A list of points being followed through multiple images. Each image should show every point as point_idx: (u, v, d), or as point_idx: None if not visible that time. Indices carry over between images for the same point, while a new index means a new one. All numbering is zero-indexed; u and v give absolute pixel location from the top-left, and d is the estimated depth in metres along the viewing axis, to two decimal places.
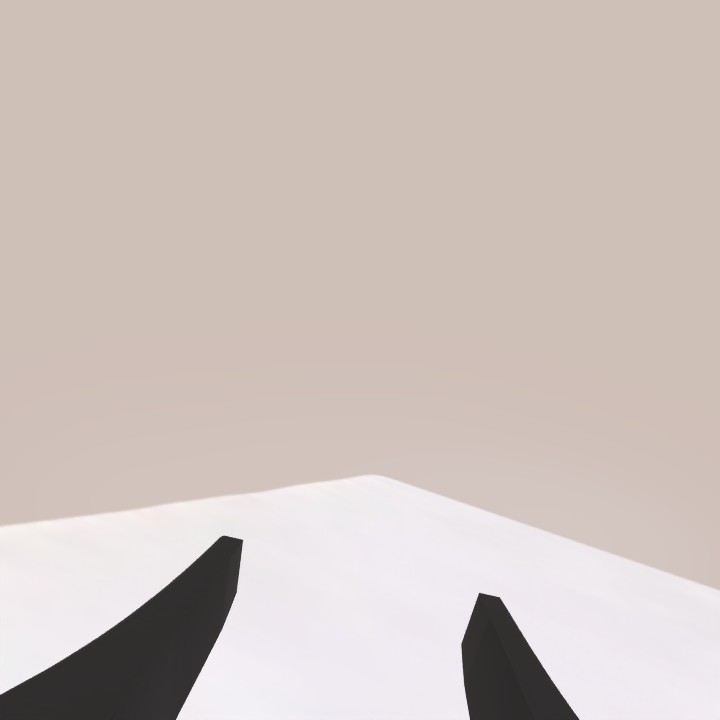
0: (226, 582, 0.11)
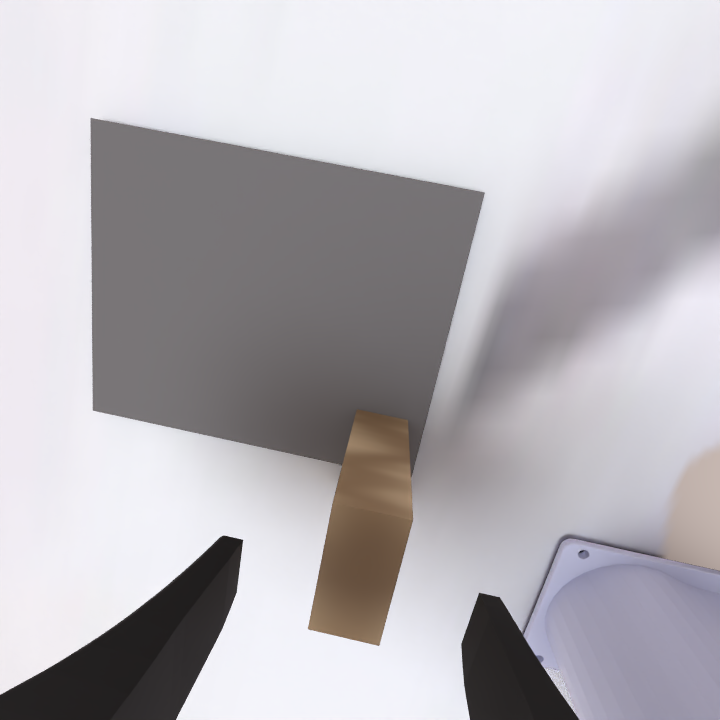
0: (226, 582, 0.11)
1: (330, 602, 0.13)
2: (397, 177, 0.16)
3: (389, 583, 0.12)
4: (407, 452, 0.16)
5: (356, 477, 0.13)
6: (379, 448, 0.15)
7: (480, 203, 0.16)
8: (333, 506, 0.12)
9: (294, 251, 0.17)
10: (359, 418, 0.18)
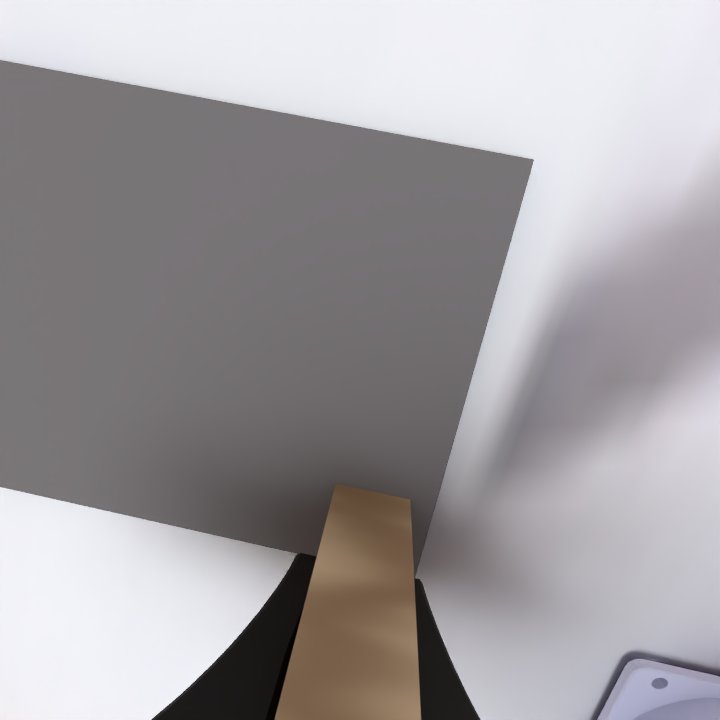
0: None
1: None
2: (394, 135, 0.10)
3: None
4: (410, 574, 0.10)
5: (320, 658, 0.07)
6: (367, 569, 0.10)
7: (526, 177, 0.10)
8: None
9: (236, 253, 0.11)
10: (337, 501, 0.12)
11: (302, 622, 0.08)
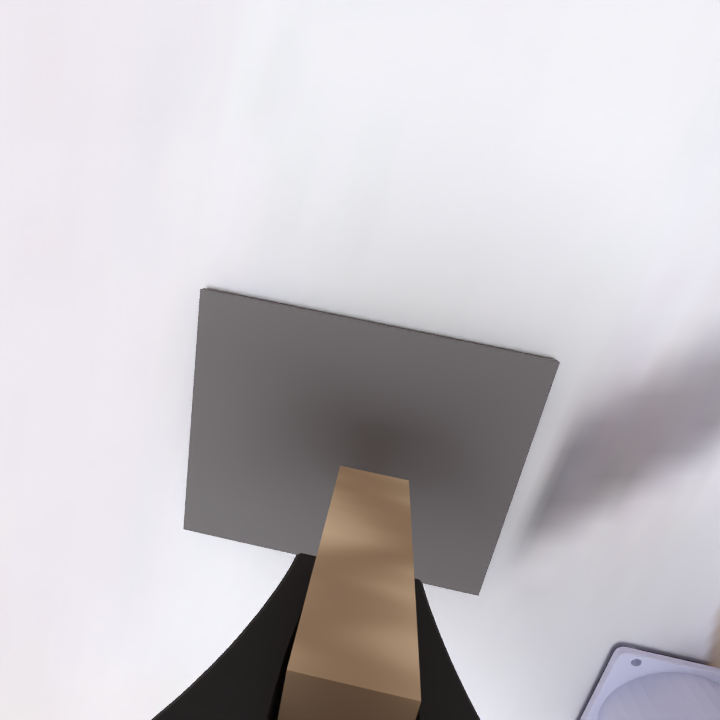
0: None
1: None
2: (480, 346, 0.17)
3: None
4: (409, 541, 0.11)
5: (330, 604, 0.08)
6: (369, 536, 0.11)
7: (555, 371, 0.17)
8: (288, 676, 0.07)
9: (381, 403, 0.19)
10: (342, 481, 0.13)
11: (313, 576, 0.09)
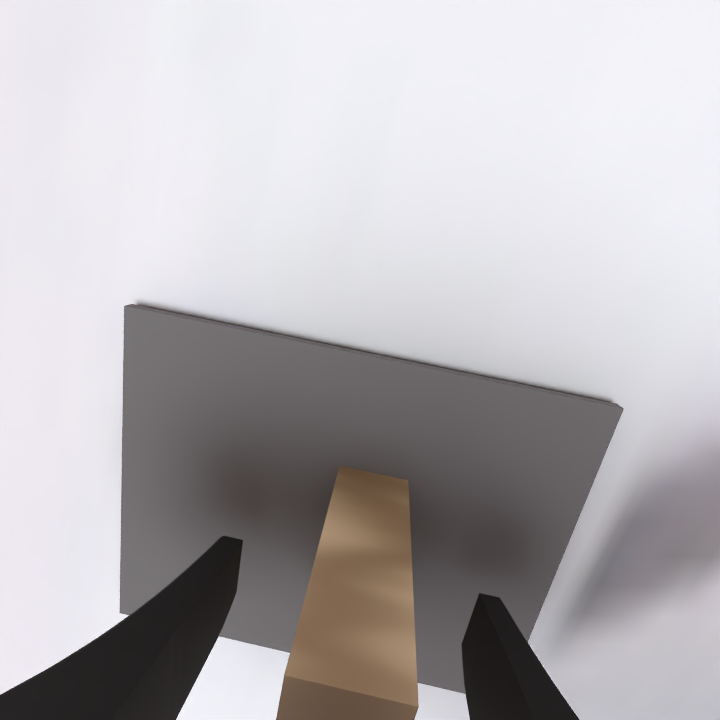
0: (226, 582, 0.11)
1: None
2: (512, 386, 0.12)
3: None
4: (408, 542, 0.11)
5: (328, 607, 0.08)
6: (368, 538, 0.11)
7: (617, 420, 0.12)
8: (285, 681, 0.07)
9: (375, 461, 0.14)
10: (341, 481, 0.13)
11: (312, 579, 0.09)
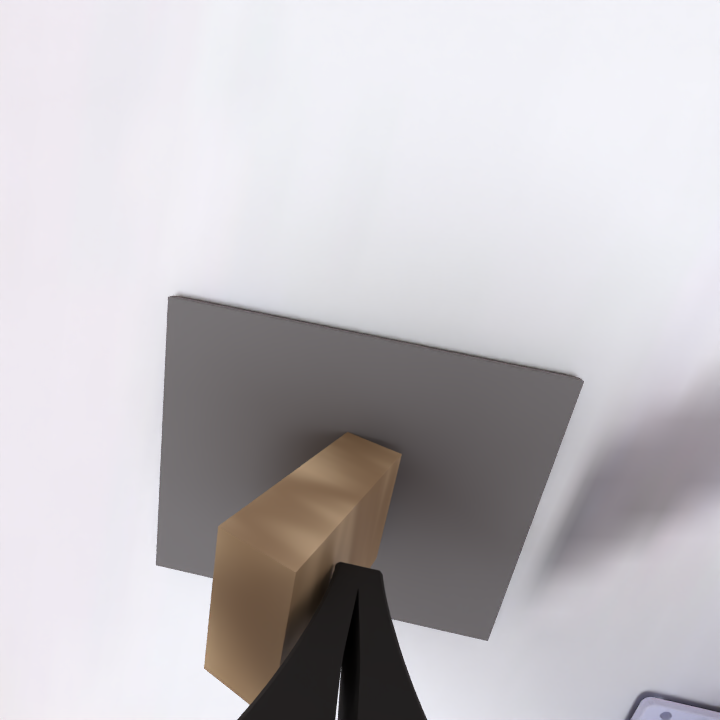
0: None
1: (221, 645, 0.11)
2: (491, 363, 0.15)
3: (276, 645, 0.10)
4: (366, 489, 0.13)
5: (273, 505, 0.11)
6: (335, 478, 0.13)
7: (578, 391, 0.15)
8: (219, 531, 0.10)
9: (377, 427, 0.16)
10: (341, 441, 0.15)
11: (272, 487, 0.12)
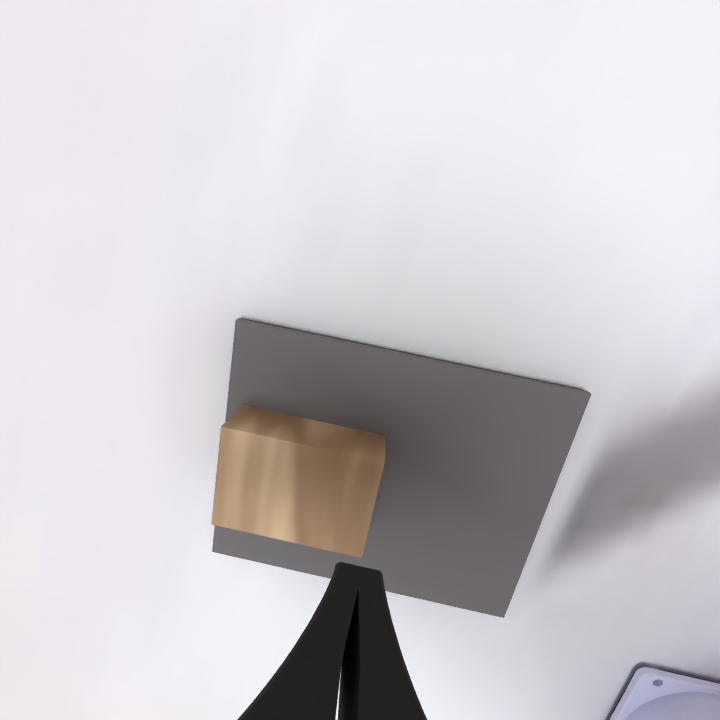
0: (352, 611, 0.11)
1: None
2: (512, 378, 0.18)
3: None
4: (314, 445, 0.17)
5: (269, 415, 0.19)
6: (315, 433, 0.18)
7: (586, 402, 0.18)
8: None
9: (413, 432, 0.19)
10: (367, 433, 0.19)
11: (285, 414, 0.19)
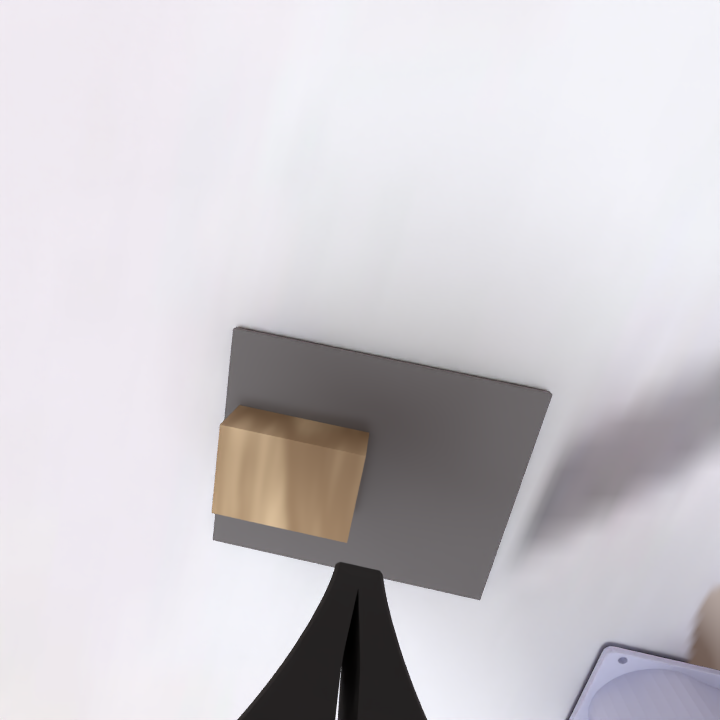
0: (352, 611, 0.11)
1: None
2: (482, 380, 0.20)
3: None
4: (303, 441, 0.19)
5: (263, 415, 0.21)
6: (304, 430, 0.20)
7: (548, 402, 0.20)
8: (238, 407, 0.21)
9: (393, 429, 0.21)
10: (352, 430, 0.21)
11: (278, 413, 0.21)
